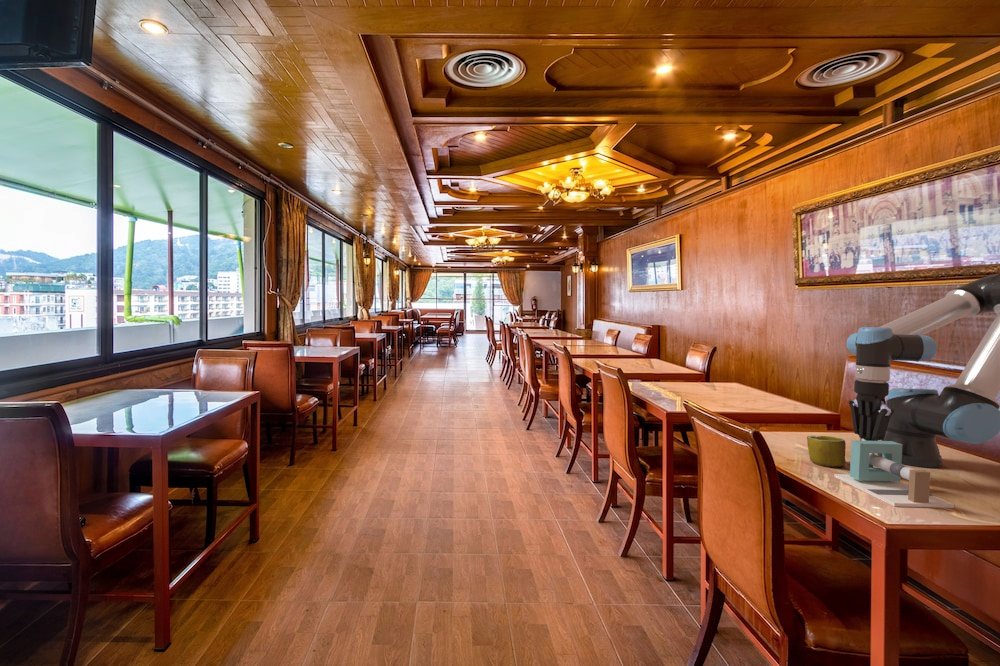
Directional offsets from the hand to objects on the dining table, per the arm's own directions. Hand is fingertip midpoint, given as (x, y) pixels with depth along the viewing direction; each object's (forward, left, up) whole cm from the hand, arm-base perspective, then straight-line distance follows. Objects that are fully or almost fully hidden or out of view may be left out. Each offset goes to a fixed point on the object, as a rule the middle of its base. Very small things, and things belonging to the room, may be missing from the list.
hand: (867, 461), depth 124 cm
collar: (+4, +8, -2) cm, 9 cm away
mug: (+5, -10, -4) cm, 12 cm away
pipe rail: (+4, +12, -4) cm, 14 cm away
